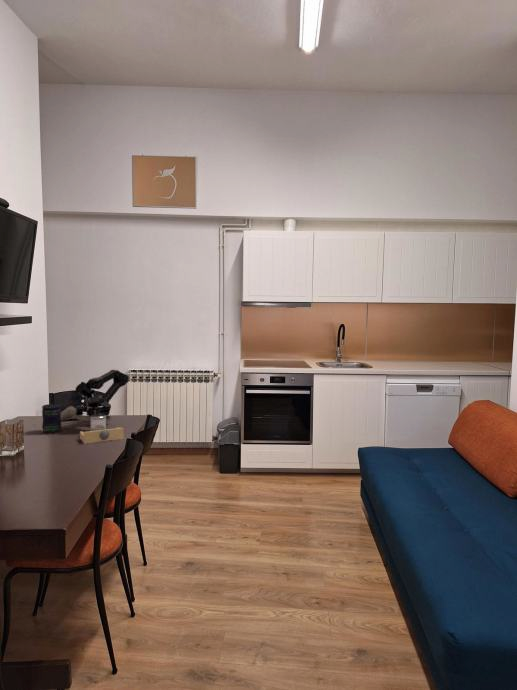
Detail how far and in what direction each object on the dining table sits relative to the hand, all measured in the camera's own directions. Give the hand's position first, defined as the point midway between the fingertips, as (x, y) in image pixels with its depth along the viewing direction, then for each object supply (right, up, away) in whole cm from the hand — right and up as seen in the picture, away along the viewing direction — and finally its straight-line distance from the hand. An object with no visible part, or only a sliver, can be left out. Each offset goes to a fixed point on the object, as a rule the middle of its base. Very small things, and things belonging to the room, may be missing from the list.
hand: (95, 421), depth 271 cm
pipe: (-28, -4, +32) cm, 43 cm away
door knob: (+3, -7, -3) cm, 8 cm away
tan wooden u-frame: (+7, -8, -11) cm, 15 cm away
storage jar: (-25, -6, +2) cm, 26 cm away
